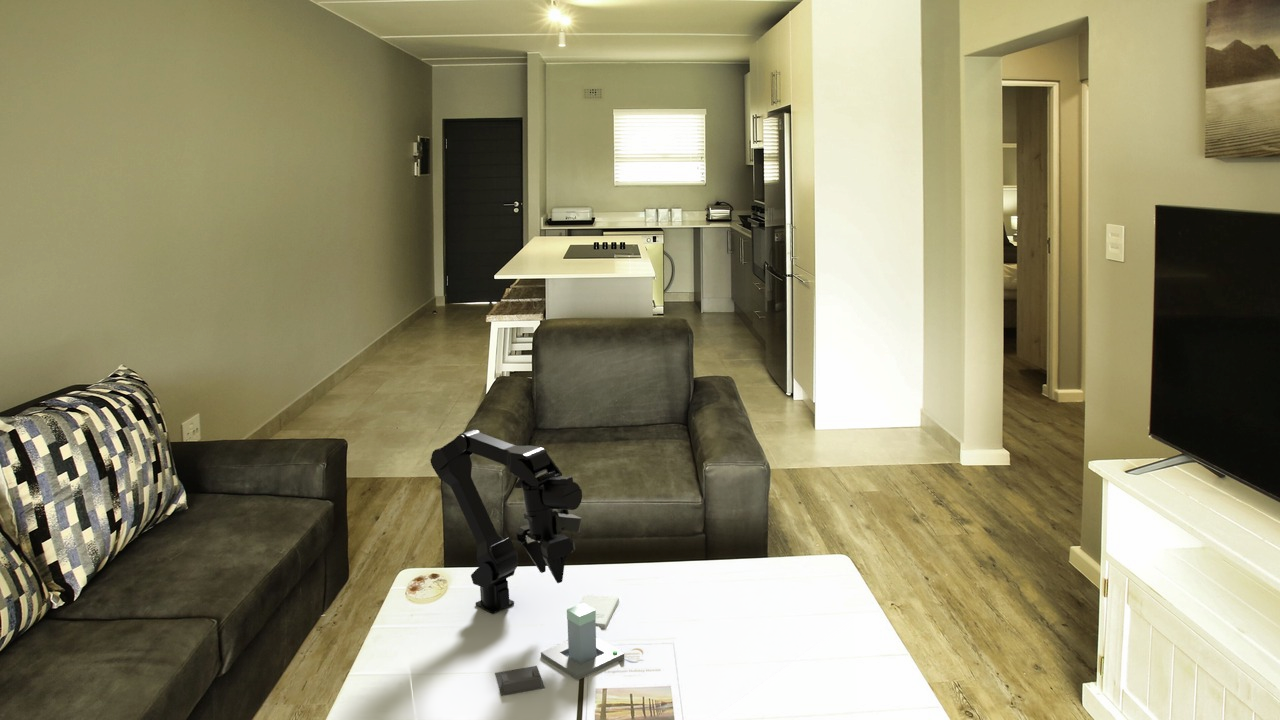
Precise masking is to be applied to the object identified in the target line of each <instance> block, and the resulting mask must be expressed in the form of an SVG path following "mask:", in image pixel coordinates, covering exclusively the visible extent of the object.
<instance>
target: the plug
mask: <svg viewBox="0 0 1280 720" xmlns="http://www.w3.org/2000/svg"><path fill="white" fill-rule="evenodd" d="M566 619H567V640H568V649H569V653H568V658H570V659H571V660H573V661H574V662H576V663H578V664H579V665H581V664H583V663H585V662H587V661H589V660H591V659H593V658H595V657H598V656H597V653H596V637H597V625H596V610H595V609H593V608H591V607H589V606H588V605H586V604H584V603H582V604H580V603H579V604H577V605H575V606H572V607H570V608H567V609H566Z"/></svg>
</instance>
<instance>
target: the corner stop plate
mask: <svg viewBox="0 0 1280 720" xmlns="http://www.w3.org/2000/svg"><path fill="white" fill-rule="evenodd" d="M494 675H495V680H496V682H497V685H498V689H499V693H500V696H501V697H504V696H509V695H516V694H521V693H526V692H532V691H537V690H542V689H546V686H545V684H544V680H543V679H542V675H541V674H540V670H539V668H538V665H533V666H527V667H526V666H525V667H522V668H517V669H516V668H515V669H510V670H509V669H508V670H503V671H497V672H494Z"/></svg>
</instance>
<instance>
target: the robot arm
mask: <svg viewBox="0 0 1280 720" xmlns="http://www.w3.org/2000/svg"><path fill="white" fill-rule="evenodd" d="M473 454H474V455H477V456H479V457H482V458H483V459H484V458H485V459H488V460H489V461H492V462H495V463H498V464H500V465H502V466H505V467H506V468H507V470H508V472H509V473H510V474H512V475H513V476H515V477H516V478H518V480H517V481H516V482H515V483H514V486H513V488H514V489H521V490H522V495H523V496H522V497H523V500H524V507H525V511H526V512H523V518H524V519H526V520H527V524H525V525H522V526H519V527H518V529H517V530H516V532H515V533H516V538H517V541H519V542H520V545H521V546H522V547H523V548H524V549H523V550H525V551H526V553H527V555H529V557H530V559H531V560H532V562H533V563H534V565H535V566H536V568H537V570H539V571H538V572H539V573H541V574H543V573H545V572H546V566H547V567H548V570H549V571H550V573H551V575H552V576H553V579H554V580H555V582H556V583H557V584H561V583H563V580H564V571H565V566H566V565H565V563H566V559H567V558H568V556H569V555H570V554H572V553H573V552H574V551H576V545H575V544H576V543H575V541H574V540H573V538H572V539H571V538H570V537H568V536H567V535H564V534H563V532H574V533H575V534H576V533H577V534H578V533H580V531H581V524H582V517H580V516H578V515H576V514H572V513H569V511H574V510H577V509H578V508H579V507H580V505H581V503H582V499H583V491H582V488H581V487H580V485H579V484H578V483H577V482H576V481H575V482H574V480H573V479H574V478H573V476H570V475H569V476H563V472H561V470H560V469H559V467H558V466H557V465H556V463H555V461H553V459H552V458H551V457H550V455H549V454H548V452H547V450H546V449H545V448H544V447H540V446H536V445H535V446H534V445H515V444H512V443H509V442H507V441H504V440H502V439H499V438H496V437H493V436H490V435H488V434H484V433H482V432H480V430H478V429H470V430H468V431H464V432H461V433H460V434H458V435H457V436H456V437H455V438H454V439H452V440H451V441H449V442H448V443H447V444H445V445H444V446H442V447H440V448H436V449H434V450H433V451H432V452H431V458H430V465H431V467H432V469H433V470H434V472H435V473H436V475H437V477H438V478H439V479H440V480H441V481H442V482H443V483H445V484H447V485H448V486H449V487H450V488H451V490H452V492H453V494H454V496H455V499H456V501H457V503H458V505H459V507H460V509H461V511H462V514H463V516H464V518H465V520H466V522H467V524H468V527H469V529H470V531H471V533H472V535H473V537H474V540H475V541H476V544H477V545H476V546H477V547H476V548H477V549H476V561H477V564H478V568H476V569H475V570H474V571H473V572H472V573H471V574H470V578H471V581H472V584H473V585H475V586H478V587H479V589H480V590H479V591H480V600H478V601H476V602H475V606H476V607H478V606H479V607H478V608H481V609H482V608H483V609H482V610H485V611H487V612H488V613H491V614H495V613H497V612H500V611H502V610H503V609H506V608H509V607H511V606H512V604H513V605H514V604H515V601H514V600H512V599H511V598H510V589H509V583H508V578H510V577H513V576H514V575H515V572H516V569H517V567H518V563H519V557H518V554H519V553H518V551H517V550H516V549H515V547H514V543H513V541H512V539H511V538H510V537H507V538H503V536H501V535H499V533H498V532H497V529H496V528H495V525H494V522H493V520H492V519H491V517H490V514H489V512H488V510H487V508H486V506H485V503H484V502H483V499H482V498H481V495H480V493H479V491H478V489H477V487H476V484H475V483H474V480H473V478H472V473H473V472H472V471H473V462H472V459H471V457H472V455H473ZM510 605H511V606H510Z"/></svg>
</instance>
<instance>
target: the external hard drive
mask: <svg viewBox="0 0 1280 720" xmlns="http://www.w3.org/2000/svg"><path fill="white" fill-rule="evenodd" d="M619 602H620V600H619V597H617V596H605V595H595V594H594V595H593V594H584V595H583V597H582V598H581V601H580V602H579V604H582V603H584V604H586V605H588V606H589V607H591V608H593V609H595V610H596V626H598V627H599V628H601V629H606V628H607V626H608V624H609V623H610V620H611V618H612V616H613V615H614V613H615V610H616V608H617V606H618V604H619Z"/></svg>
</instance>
